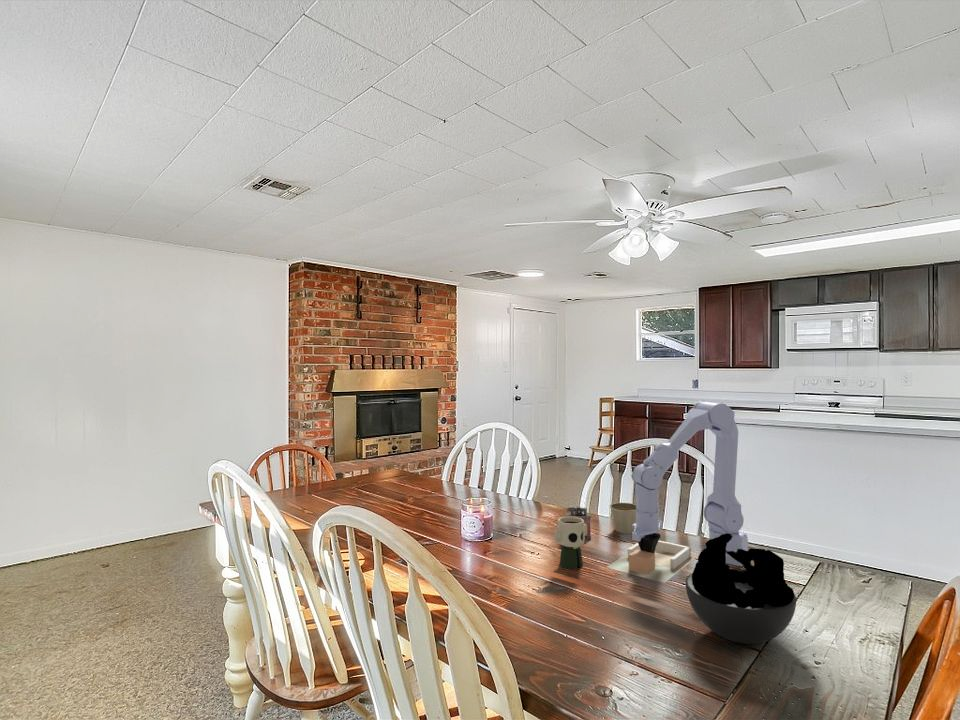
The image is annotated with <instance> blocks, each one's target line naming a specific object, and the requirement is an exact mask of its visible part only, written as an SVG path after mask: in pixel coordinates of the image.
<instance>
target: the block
mask: <svg viewBox="0 0 960 720" xmlns="http://www.w3.org/2000/svg"><path fill="white" fill-rule="evenodd" d="M654 569H655V554H654V553H650V552H646V551H641V550H635V551H634V552H632V553H631V554H629V570H631V571H634V572H638V573H642V574H646V575H648V574H649V573H650V572H652V571H653V570H654Z"/></svg>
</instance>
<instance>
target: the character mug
mask: <svg viewBox="0 0 960 720" xmlns="http://www.w3.org/2000/svg"><path fill="white" fill-rule="evenodd" d="M553 535H554V537H553V538H554V539H553V540H554V542H555V543H558V544H559V545H561V551H560V558H559V566H560V567H561V568H564V569H568V570H577V569H578V567H579V569H582V568H583V567H584V565H583V564H584V562H583V556H582V555H583V554H582V549H581V547H582V546H583V545H584V543H585V542H586V540H585V536H586V535H587V525H586V524H584V520H583V519H581V518H578V517H565V516H562V517H559V518H558V519H557V529H554V534H553Z"/></svg>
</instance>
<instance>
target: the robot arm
mask: <svg viewBox="0 0 960 720" xmlns="http://www.w3.org/2000/svg"><path fill="white" fill-rule="evenodd" d="M704 430H709V431H711V433H712V434H713V435H715V453H714V469H713V471H714V472H713V483H712V485H713V487H712V493H710V494H709V495H708V496H707V499H706V500H707V501H706V504H705V505H704V508H703V512H702V513H703V516H704V519H705V521H706V522H707V526H708V540H709V539H714V538H716V537H719V536H720V535H722V534H726V533H728V534H731V535H732V536H733V537H732V539H731V540H730V541H729V542H728V543H727V546H726V551H734V552H737V549H743V550H745V551H748V550H749V538H748V535H747V533H744V532H741V531H740V530H741V529H742V527H743V526H744V522H745V521H744V515H743V514H742V504H741V503H740V502H739V500H738V499H737V497H736V479H737V464H738V463H737V462H738V449H739V448H738V443H739V429H738V426H737V422H736V421H735V411H734V410H733V409H732V408H731V407H730V406H728V405H727V404H726V403H722V402H721V403H720V402H718V403H717V402H711V401H706V400H701V401H698V402H696V403H695V404H694V405H693V406H692V408H691V409H689V410H688V412H687V416H686V418H685V419H684V420H683V421H682V422H681V424H680V425H679V427H678V428H677V429H676V430H675V432H674V433H673V435H672V436H671V437H670V438H669V440H668V441H667V442H663V443H662V442H661V443H659V444H656V445H655V446H654V447H653V449H654V450H653V451H652V453H651V454H650V455H649V456H648V457H647V458H646V459H643V461H642V462H643V463H640V464H638V465H636V466H635V468H634V469H633V473H631V474H630V475H631V479H632V481H633V483H634V484H635V505H636V523H634V524H633V525H632V527H633V528H635V529H634V532H633V533H631V540H632V541H635V542H636V543H638V544H639V547H640V550H641V551H646V552H650V553H655V548H656V545H657V543H658V541H660V539H661V534H660V533H659V532H660V530H661V529H662V528H663V521H662V520H659V487H660V486H661V485H662V483H663V480H664V475H665V473H666V472H667V471H668V470H669V468H671V466H673V464H674V463H675V462H676V461H677V459H678V458H679V453H678V452H679V450H680V449H681V448H683V446H684V445H686V443H687V442H689V441H690V439H691V438H692V437H693V436H694V435H695V434H696V433H697V432H699V431H704ZM725 564H727V565H734V566H739V567H743V566H744V565H742V564H741V563H739V562H738V561H736V560H735V559H733V558H732V557H731V556H730V555H729V554H727V553H726V563H725Z"/></svg>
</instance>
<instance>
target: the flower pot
mask: <svg viewBox="0 0 960 720" xmlns="http://www.w3.org/2000/svg"><path fill="white" fill-rule="evenodd" d="M609 508H610V512H611V513H612V519H613V520H612V521H613V526H614V531H616V532H617V533H622V534H632V533H633V532H634V529H635V528H633V527H632V525H633V524H634V523H636V503H630V502H615V503H611V504H610V505H609Z"/></svg>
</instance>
